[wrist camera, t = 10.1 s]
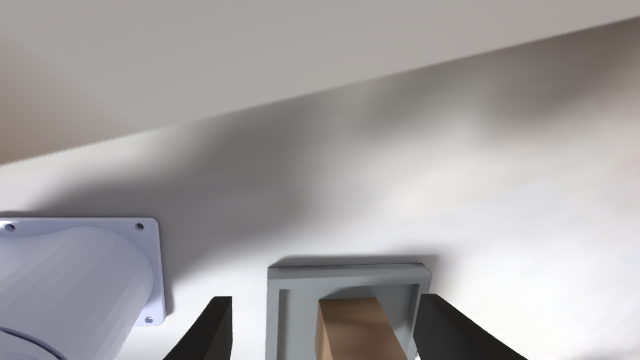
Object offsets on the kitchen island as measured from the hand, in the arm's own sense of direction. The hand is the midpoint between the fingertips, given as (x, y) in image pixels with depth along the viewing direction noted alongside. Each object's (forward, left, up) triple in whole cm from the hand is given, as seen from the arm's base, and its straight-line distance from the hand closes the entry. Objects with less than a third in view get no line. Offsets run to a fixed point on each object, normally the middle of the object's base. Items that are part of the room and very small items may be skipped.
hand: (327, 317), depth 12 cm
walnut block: (+4, -9, -10) cm, 14 cm away
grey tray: (+4, -9, -10) cm, 15 cm away
